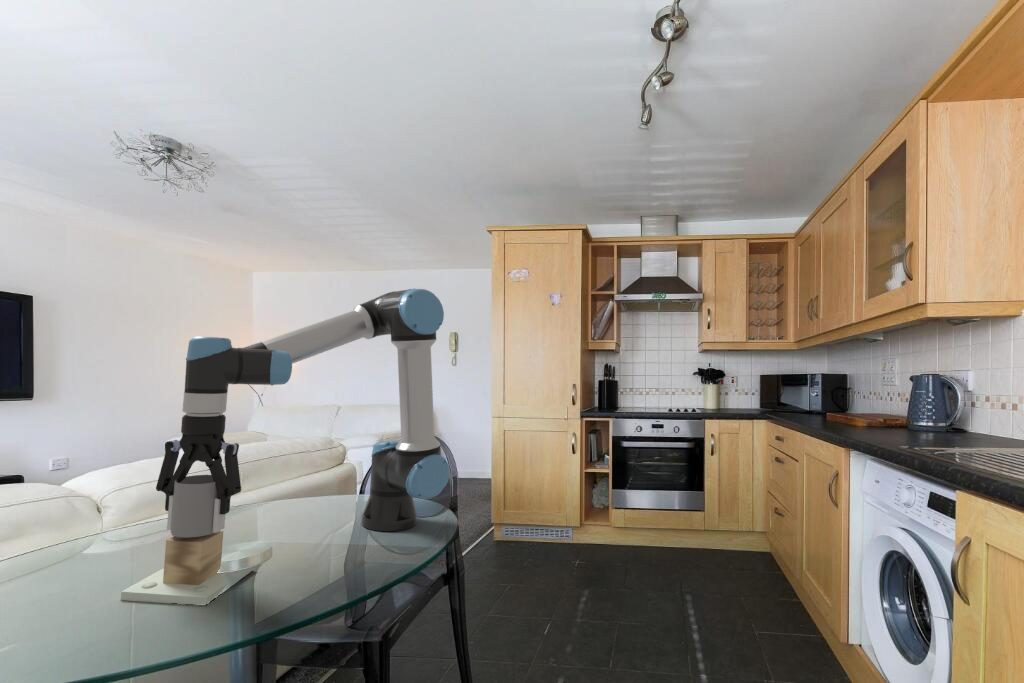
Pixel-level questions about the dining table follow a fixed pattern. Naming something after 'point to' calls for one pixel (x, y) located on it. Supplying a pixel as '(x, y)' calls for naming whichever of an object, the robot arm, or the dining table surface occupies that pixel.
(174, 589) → the plate
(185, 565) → the oak block
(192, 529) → the cup
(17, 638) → the dining table surface
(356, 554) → the dining table surface
